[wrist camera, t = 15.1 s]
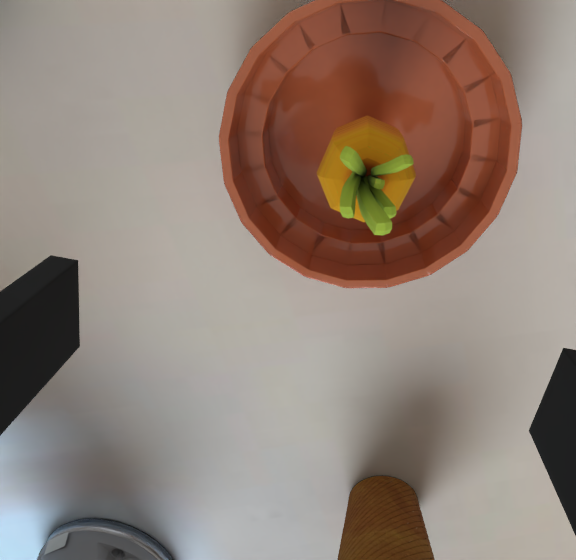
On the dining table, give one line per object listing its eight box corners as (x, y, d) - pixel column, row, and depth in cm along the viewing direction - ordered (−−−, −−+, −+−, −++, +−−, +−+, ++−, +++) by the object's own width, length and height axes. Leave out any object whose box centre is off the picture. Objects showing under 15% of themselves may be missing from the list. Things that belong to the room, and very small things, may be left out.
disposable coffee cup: (456, 489, 49) (483, 620, 38) (401, 552, 53) (411, 686, 42) (362, 445, 48) (363, 565, 37) (313, 512, 52) (301, 638, 41)
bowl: (522, 209, 38) (549, 239, 32) (294, 282, 42) (284, 319, 37) (457, -57, 32) (477, -75, 27) (199, 60, 36) (171, 65, 31)
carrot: (328, 99, 36) (308, 141, 22) (405, 99, 35) (433, 142, 22) (326, 174, 38) (307, 254, 24) (399, 176, 37) (421, 259, 24)
